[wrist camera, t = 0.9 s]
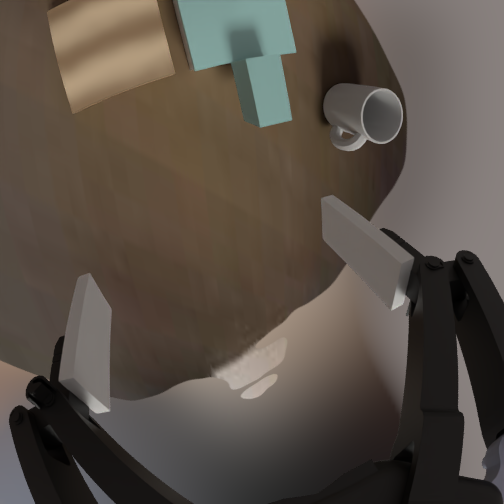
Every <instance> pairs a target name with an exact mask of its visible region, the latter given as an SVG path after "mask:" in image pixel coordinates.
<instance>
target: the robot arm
mask: <svg viewBox="0 0 504 504" xmlns="http://www.w3.org/2000/svg"><path fill="white" fill-rule="evenodd" d="M321 206H322V229H323V240H324V241H325V242H326V243H327V244H328V245H329V246H330V247H331V248H332V249H333V250H334V251H335V252H336V253H337V254H338V255H339V256H340V257H341V258H342V259H343V260H344V261H345V262H346V263H347V264H348V265H349V266H350V267H351V268H352V269H353V270H354V271H355V272H356V274H357V275H359V277H360V278H361V279H362V280H363V281H364V282H365V283H366V284H367V285H368V286H369V287H370V288H371V289H372V291H373V292H374V293H375V294H376V295H377V296H378V297H379V298H380V299H381V300H382V301H383V302H384V303H385V305H386V306H387V307H388V308H389V309H390V310H393V309H395V308H397V307H399V306H400V305H402V304H403V303H404V299H405V295H407V297H409V299H410V303H409V307H408V310H407V313H406V316H408V314H409V334H408V354H407V355H408V356H407V368H406V379H405V388H404V396H403V404H402V411H401V418H400V424H399V430H398V435H397V438H396V441H395V443H394V445H393V448H392V451H391V456H390V460H383V461H377V462H373V461H372V460H369V461H367V462H366V463H364V464H362V465H360V466H358V467H356V468H354V469H352V470H350V471H348V472H347V473H344V474H343V475H342V476H341V477H339V478H338V479H337V480H335V481H334V482H333V483H332V484H330V485H329V486H328V487H326V488H325V489H323V490H322V491H321V492H319V493H317V494H314V495H307V496H301V497H294V498H286V499H282V500H279V501H276V502H272V503H269V504H503V502H504V302H503V300H502V299H501V297H500V295H499V293H498V291H497V289H496V287H495V285H494V284H493V282H492V280H491V278H490V277H489V275H488V273H487V271H486V270H485V268H484V266H483V265H482V263H481V262H480V260H479V258H478V257H477V256H476V255H475V254H473V253H472V252H469V251H465V250H462V251H459V252H458V253H457V254H456V258H455V260H454V261H447V262H443V261H442V260H441V259H439V258H437V257H434V256H426V257H424V256H423V255H422V254H421V253H420V252H418V251H417V250H416V249H414V248H413V247H412V246H411V245H409V244H408V243H407V242H405V240H403V239H402V238H400V237H399V236H398V235H397V234H395V233H394V232H393V231H390V230H388V229H385V228H382V229H378V228H377V227H375V226H374V225H373V224H372V223H370V222H369V221H368V220H366V219H365V218H364V217H362V216H361V215H360V214H358V213H357V212H356V211H354V210H353V209H352V208H350V207H349V206H347V205H346V204H345V203H343V202H342V201H340V200H339V199H338V198H336V197H335V196H333V195H331V196H327V197H324V198H321ZM111 313H112V309H111V308H110V306H109V304H108V303H107V301H106V300H105V298H104V296H103V295H102V293H101V291H100V290H99V288H98V286H97V285H96V283H95V281H94V279H93V278H92V276H91V274H90V273H88V274H85V275H82V276H80V277H78V280H77V283H76V287H75V291H74V295H73V300H72V304H71V308H70V313H69V318H68V323H67V328H66V333H65V336H62V337H60V338H59V339H58V341H57V343H56V345H55V349H54V357H53V361H52V362H53V364H52V367H51V374H50V381H48V380H47V379H46V378H45V377H44V376H37V377H34V378H33V379H32V380H31V381H30V383H29V384H28V386H27V389H26V398H27V400H28V401H30V402H31V403H32V404H33V405H35V407H33V408H31V409H30V410H27V409H26V408H25V407H23V406H20V405H19V406H17V407H15V408H14V409H13V410H12V412H11V414H10V418H9V425H10V429H11V433H12V437H13V441H14V444H15V448H16V452H17V455H18V458H19V461H20V464H21V467H22V470H23V473H24V476H25V479H26V482H27V484H28V487H29V489H30V492H31V494H32V497H33V499H34V501H35V504H98V502H97V501H96V499H95V498H94V496H93V494H92V492H91V491H90V489H89V487H88V485H87V484H86V482H85V480H84V478H83V476H82V475H81V473H80V471H79V469H78V467H77V465H76V463H75V461H74V459H73V457H74V458H75V459H76V461H77V462H78V463H79V464H80V466H81V467H82V468H83V469H84V470H85V472H86V473H87V474H88V475H89V476H90V477H91V478H92V479H93V481H94V482H95V483H96V484H97V485H98V486H99V487H100V488H101V489H102V490H103V491H104V492H105V493H106V494H107V495H108V496H109V497H110V498H111V499H112V500H113V501H114V502H115V503H116V504H193V503H192V502H190V501H189V500H187V499H186V498H184V497H183V496H182V495H180V494H179V493H177V492H176V491H174V490H173V489H172V488H170V487H169V486H168V485H166V484H165V483H164V482H162V481H161V480H160V479H159V478H157V477H156V476H155V475H153V474H152V473H151V472H150V471H148V470H147V469H146V468H145V467H144V466H143V465H141V464H140V463H139V462H138V461H137V460H135V459H134V458H133V457H132V456H131V455H130V454H129V453H128V452H126V451H125V450H124V449H123V448H122V447H121V446H120V445H119V444H118V443H117V442H116V441H115V440H114V439H113V438H112V437H111V436H110V435H109V434H108V433H107V432H106V431H105V430H104V429H103V428H102V427H101V426H100V425H99V424H98V423H97V422H96V421H95V420H94V419H93V418H92V417H91V416H90V415H89V408H90V409H91V410H93V411H94V412H95V413H103V412H108V411H110V375H109V366H110V330H111ZM456 335H457V338H458V341H459V344H460V347H461V350H462V353H463V357H464V360H465V364H466V367H467V370H468V374H469V378H470V382H471V386H472V390H473V394H474V398H475V402H476V407H477V412H478V417H479V422H480V427H481V431H482V435H483V439H484V442H485V445H486V448H487V452H486V455H485V457H484V458H483V461H482V466H483V468H485V469H486V476H485V479H484V480H479V479H474V478H468V477H464V476H459V470H460V463H461V455H462V446H463V435H464V416H463V413H461V412H459V410H458V357H457V341H456ZM72 456H73V457H72Z"/></svg>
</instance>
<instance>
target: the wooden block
mask: <svg viewBox="0 0 504 504" xmlns="http://www.w3.org/2000/svg"><path fill="white" fill-rule="evenodd" d="M47 15H48V20H49V26H50V31H51V35H52V40H53V45H54V49H55V53H56V57H57V61H58V65H59V69H60V73H61V76H62V80H63V83H64V87H65V90H66V93H67V97H68V100H69V103H70V106H71V109H72V112H73V114H74V113H77V112H79V111H81V110H84V109H86V108H88V107H90V106H92V105H94V104H97V103H99V102H101V101H103V100H106V99H108V98H110V97H113V96H115V95H118V94H120V93H123V92H125V91H128V90H130V89H133V88H136V87H139V86H141V85H144V84H147V83H150V82H153V81H156V80H159V79H162V78H165V77H168V76H172V75H174V74H175V70H174V66H173V63H172V59H171V55H170V51H169V47H168V43H167V39H166V36H165V32H164V28H163V24H162V20H161V16H160V12H159V8H158V3H157V0H69V1H67V2H65V3H63V4H61V5H59V6H57V7H55V8H53V9H51V10H49V11H47Z"/></svg>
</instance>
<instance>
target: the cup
mask: <svg viewBox="0 0 504 504" xmlns="http://www.w3.org/2000/svg"><path fill="white" fill-rule="evenodd" d="M323 110H324V114H325V117H326V119H327V120H328V122H329V123H330V124H331V125H332V128H331V131H330V139H331V141H332V143H333V145H334V146H335V147H336V148H338V149H341V150H346V151H353V150H356V149H358V148H360V147H361V146H362V145H363V144H364V143H365V141H366V140H370V141H372V142H374V143H378V144H384V143H387V142H389V141H391V140H392V139H393V138H395V136H396V135H397V134H398V132H399V130H400V128H401V125H402V120H403V111H402V106H401V103H400V100H399V99H398V97H397V96H396V95H395V94H394V93H393V92H392V91H390V90H388V89H385V88H379V87H372V86H365V85H358V84H349V83H340V84H337V85H334V86H333V87H332V88H330V90H329V91H328V92H327V94H326V96H325V98H324V103H323ZM343 131H345V132H348V133H351V134H353V135H354V136H353V137H352V138H350V139H344V138H342V137H341V135H342V132H343Z"/></svg>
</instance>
